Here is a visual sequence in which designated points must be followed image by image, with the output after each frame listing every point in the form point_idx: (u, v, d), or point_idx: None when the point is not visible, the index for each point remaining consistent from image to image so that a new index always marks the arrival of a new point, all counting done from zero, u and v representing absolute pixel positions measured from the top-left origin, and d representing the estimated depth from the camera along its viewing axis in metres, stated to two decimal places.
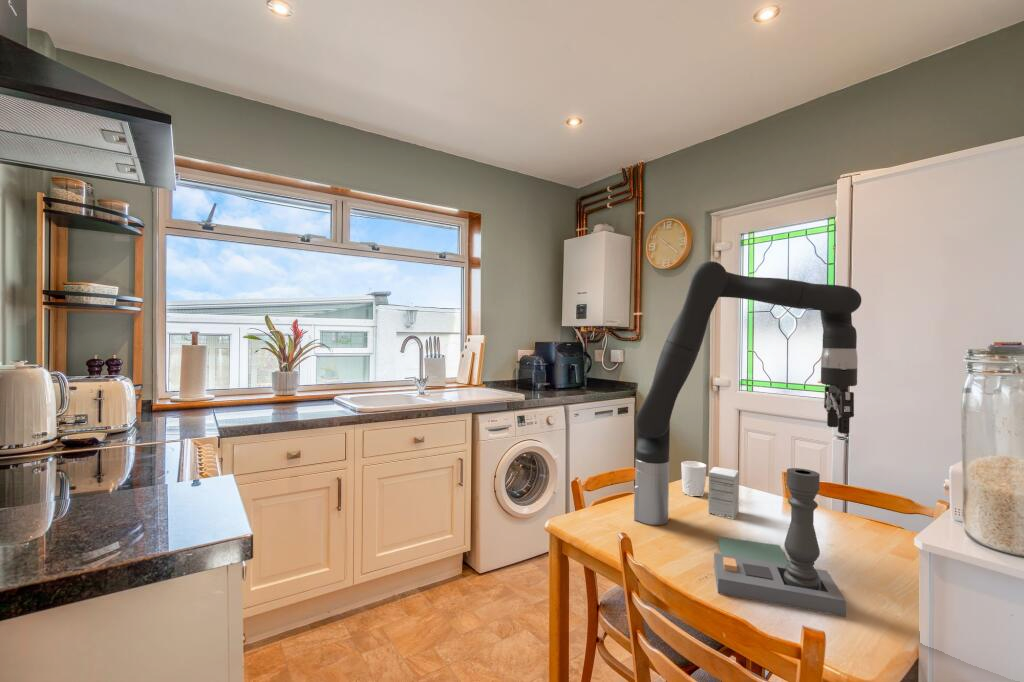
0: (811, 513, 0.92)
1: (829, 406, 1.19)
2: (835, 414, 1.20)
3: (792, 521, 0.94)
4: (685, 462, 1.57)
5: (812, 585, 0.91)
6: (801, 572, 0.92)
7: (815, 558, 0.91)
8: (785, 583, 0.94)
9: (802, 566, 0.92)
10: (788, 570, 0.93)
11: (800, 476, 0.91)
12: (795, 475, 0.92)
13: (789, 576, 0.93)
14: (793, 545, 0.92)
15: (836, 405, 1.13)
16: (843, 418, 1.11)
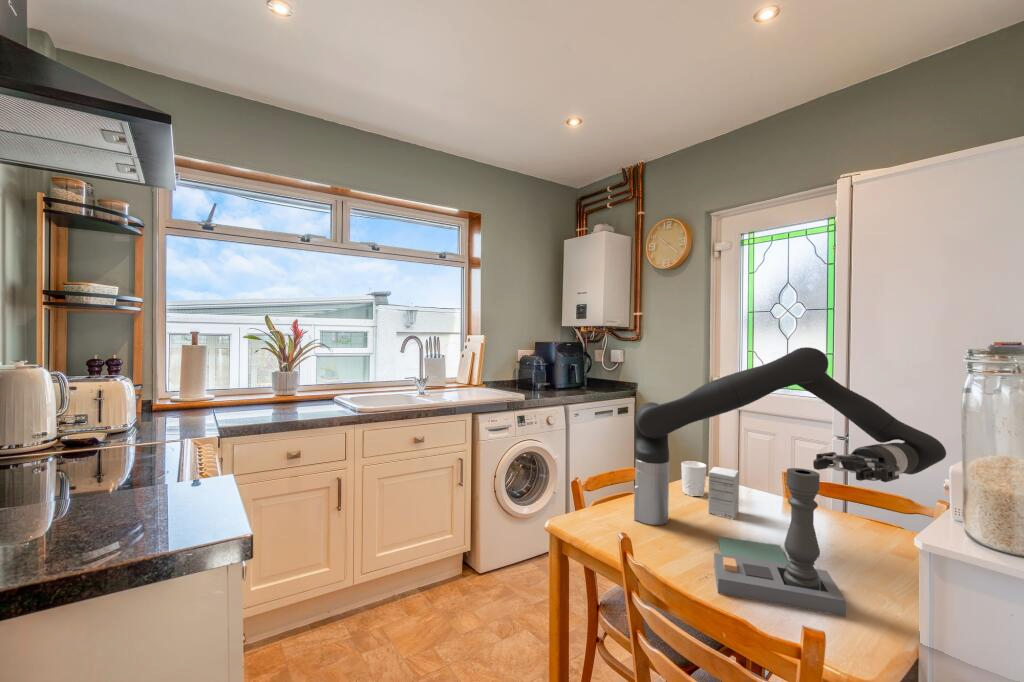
0: (811, 513, 0.92)
1: (835, 458, 1.03)
2: (826, 465, 1.03)
3: (792, 521, 0.94)
4: (685, 462, 1.57)
5: (812, 585, 0.91)
6: (801, 572, 0.92)
7: (815, 558, 0.91)
8: (785, 583, 0.94)
9: (802, 566, 0.92)
10: (788, 570, 0.93)
11: (800, 476, 0.91)
12: (795, 475, 0.92)
13: (789, 576, 0.93)
14: (793, 545, 0.92)
15: None
16: (875, 472, 0.95)
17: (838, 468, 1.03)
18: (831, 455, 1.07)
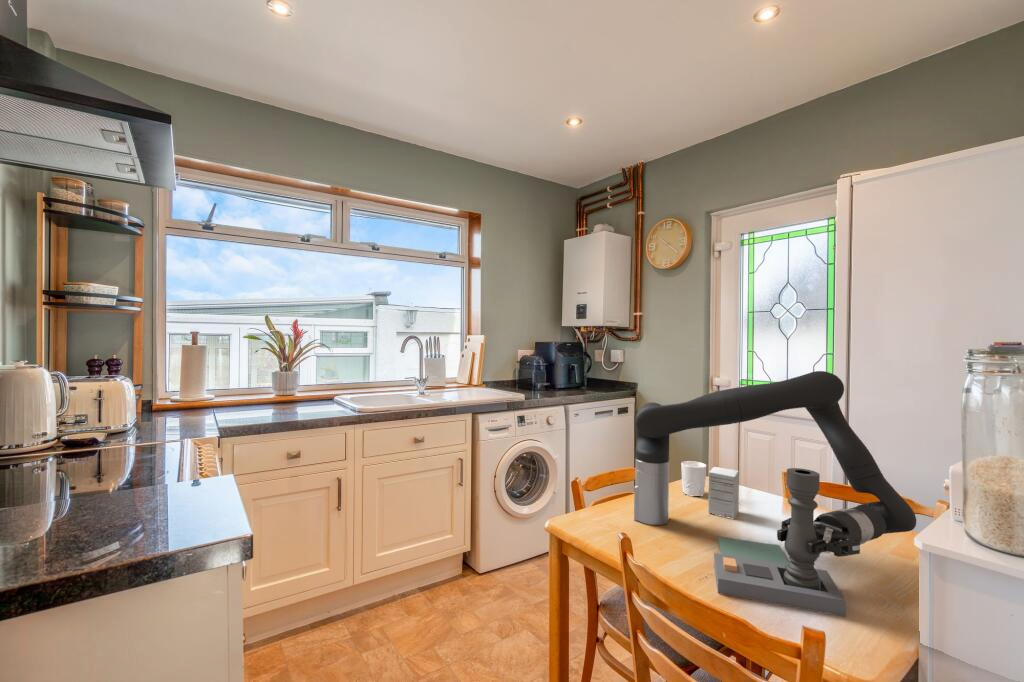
0: (811, 513, 0.92)
1: None
2: None
3: (792, 521, 0.94)
4: (685, 462, 1.57)
5: (812, 585, 0.91)
6: (801, 572, 0.92)
7: (815, 558, 0.91)
8: (785, 583, 0.94)
9: (802, 565, 0.92)
10: (788, 570, 0.93)
11: (800, 476, 0.91)
12: (795, 475, 0.92)
13: (789, 576, 0.93)
14: (793, 545, 0.92)
15: (831, 535, 0.92)
16: (828, 546, 0.90)
17: None
18: None
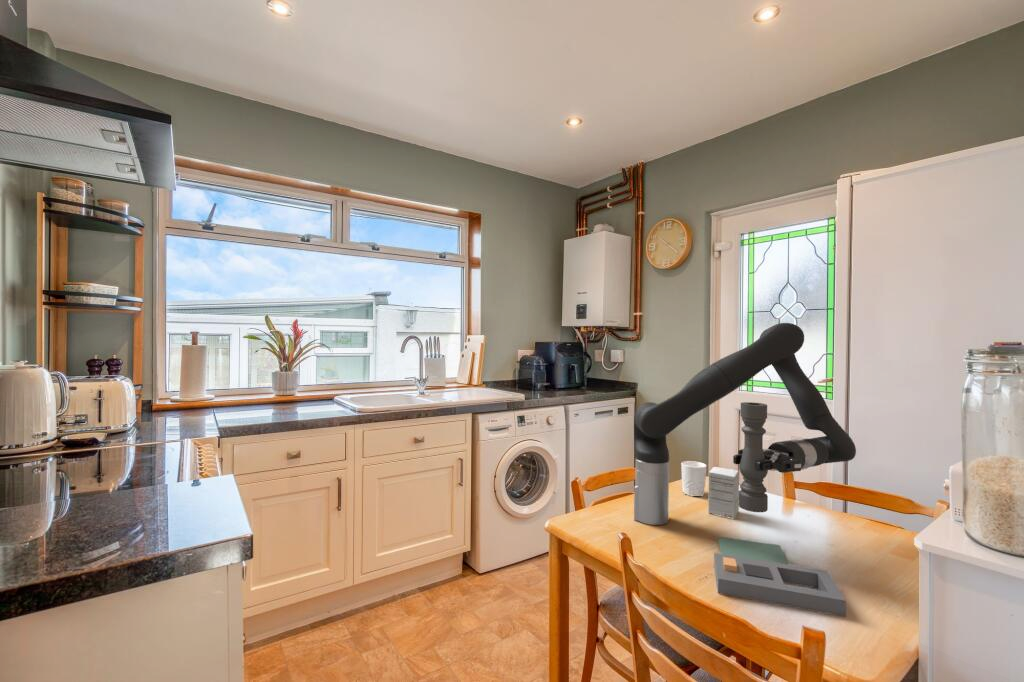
0: (760, 438, 1.08)
1: None
2: None
3: (745, 446, 1.10)
4: (685, 462, 1.57)
5: (761, 498, 1.07)
6: (752, 488, 1.08)
7: (763, 475, 1.07)
8: (739, 499, 1.10)
9: (752, 482, 1.08)
10: (742, 487, 1.10)
11: (750, 406, 1.08)
12: (746, 406, 1.08)
13: (742, 492, 1.10)
14: (745, 465, 1.09)
15: (777, 457, 1.09)
16: (773, 464, 1.07)
17: None
18: None
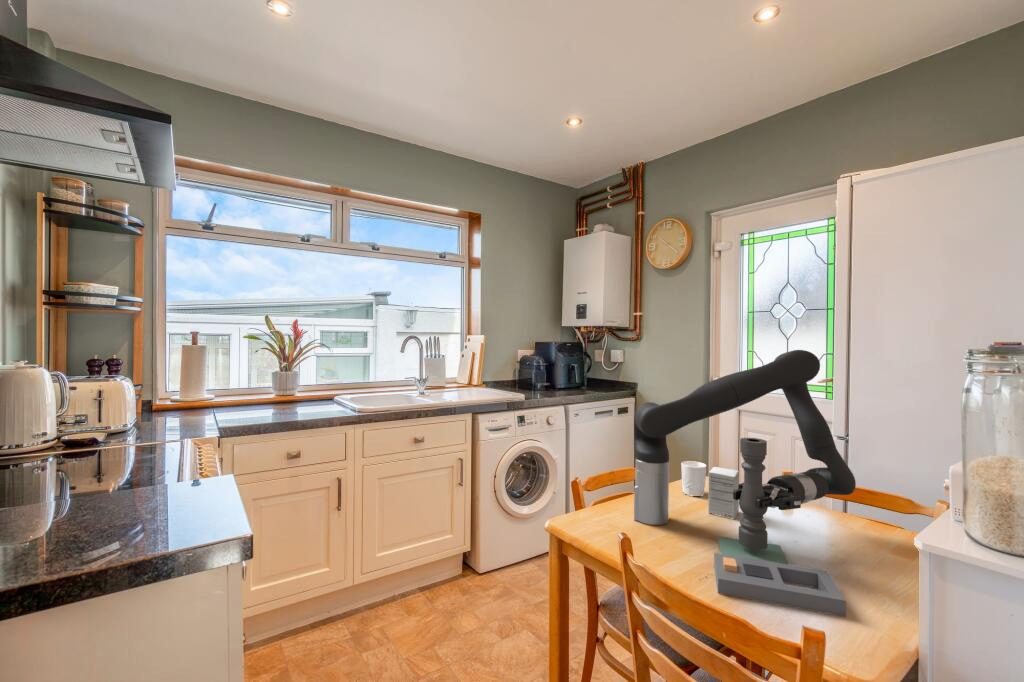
0: (760, 474, 1.08)
1: None
2: None
3: (744, 482, 1.10)
4: (685, 462, 1.57)
5: (761, 535, 1.07)
6: (752, 524, 1.08)
7: (763, 512, 1.07)
8: (739, 535, 1.11)
9: (752, 519, 1.08)
10: (741, 524, 1.10)
11: (750, 443, 1.08)
12: (746, 442, 1.09)
13: (742, 529, 1.10)
14: (745, 502, 1.09)
15: (777, 493, 1.09)
16: (773, 501, 1.07)
17: None
18: None
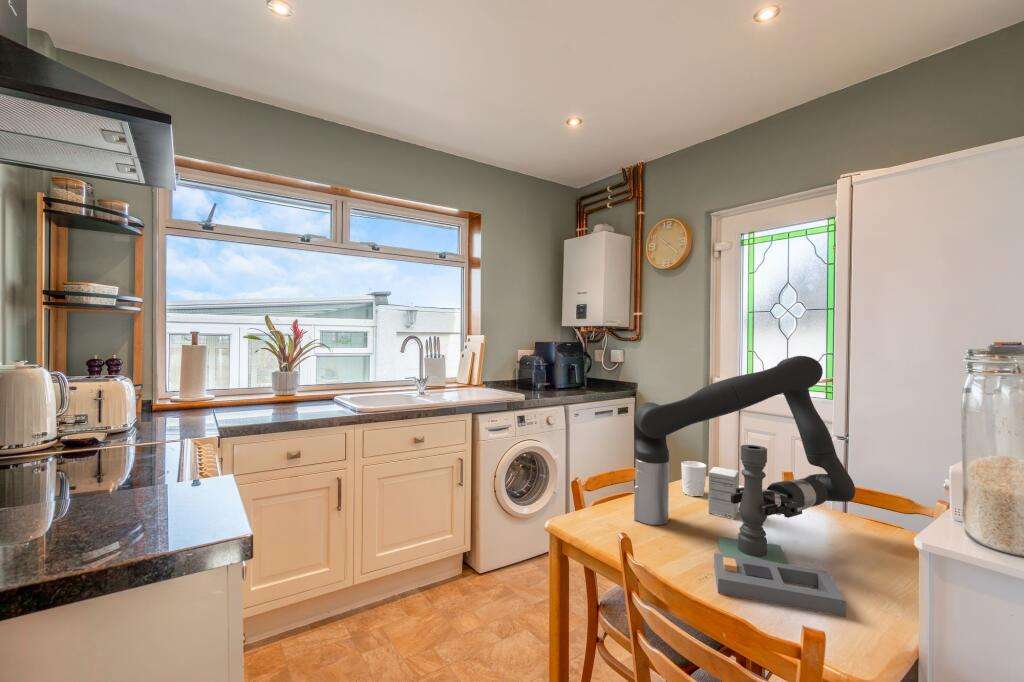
0: (760, 482, 1.08)
1: None
2: None
3: (745, 489, 1.10)
4: (685, 462, 1.57)
5: (760, 542, 1.07)
6: (751, 532, 1.08)
7: (763, 520, 1.08)
8: (739, 542, 1.11)
9: (752, 526, 1.08)
10: (741, 531, 1.10)
11: (750, 450, 1.08)
12: (746, 450, 1.09)
13: (742, 536, 1.10)
14: (744, 509, 1.09)
15: (780, 500, 1.09)
16: (779, 508, 1.06)
17: None
18: None
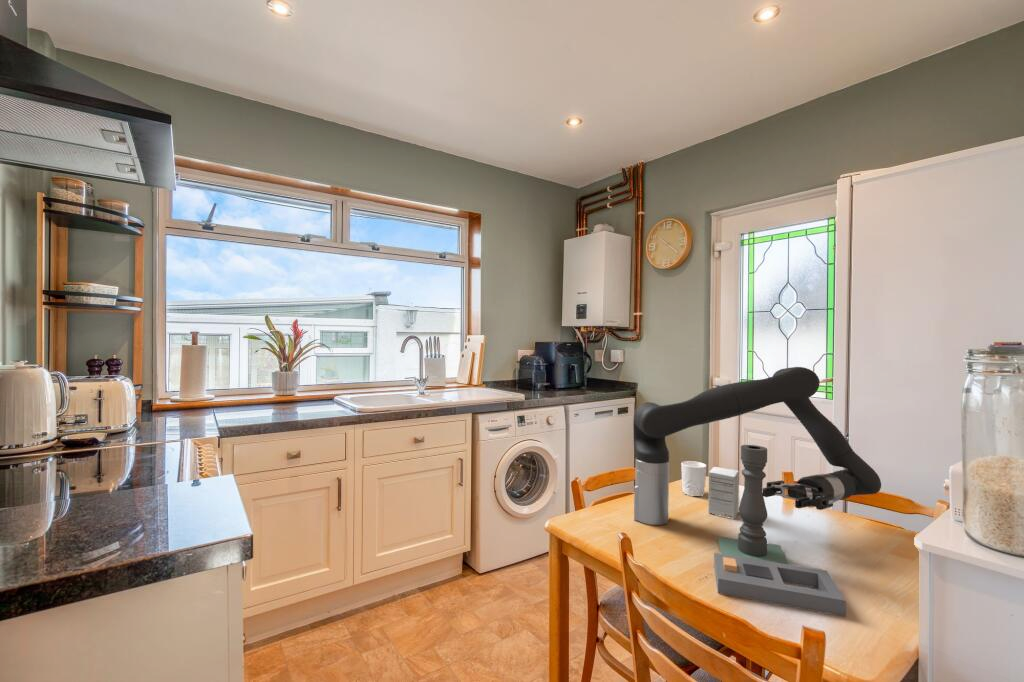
0: (760, 482, 1.08)
1: (782, 487, 1.19)
2: (773, 493, 1.19)
3: (745, 489, 1.10)
4: (685, 462, 1.57)
5: (760, 542, 1.07)
6: (751, 532, 1.08)
7: (763, 520, 1.08)
8: (739, 542, 1.11)
9: (752, 526, 1.09)
10: (741, 531, 1.10)
11: (750, 450, 1.08)
12: (746, 449, 1.09)
13: (742, 536, 1.10)
14: (745, 509, 1.09)
15: (812, 493, 1.14)
16: (811, 501, 1.11)
17: (784, 495, 1.19)
18: (779, 483, 1.23)
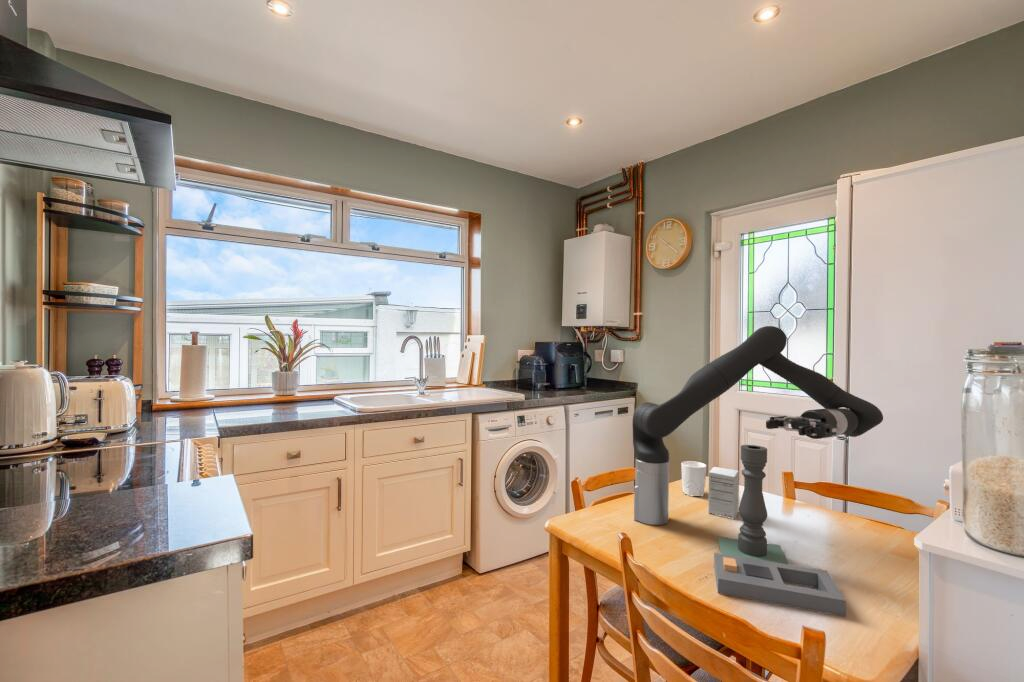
0: (760, 482, 1.08)
1: (785, 420, 1.20)
2: (777, 426, 1.20)
3: (745, 489, 1.10)
4: (685, 462, 1.57)
5: (760, 542, 1.07)
6: (751, 532, 1.08)
7: (763, 520, 1.08)
8: (739, 542, 1.11)
9: (752, 526, 1.09)
10: (741, 531, 1.10)
11: (750, 450, 1.08)
12: (746, 449, 1.09)
13: (742, 536, 1.10)
14: (745, 509, 1.09)
15: None
16: (815, 429, 1.11)
17: (787, 428, 1.20)
18: (783, 418, 1.23)
